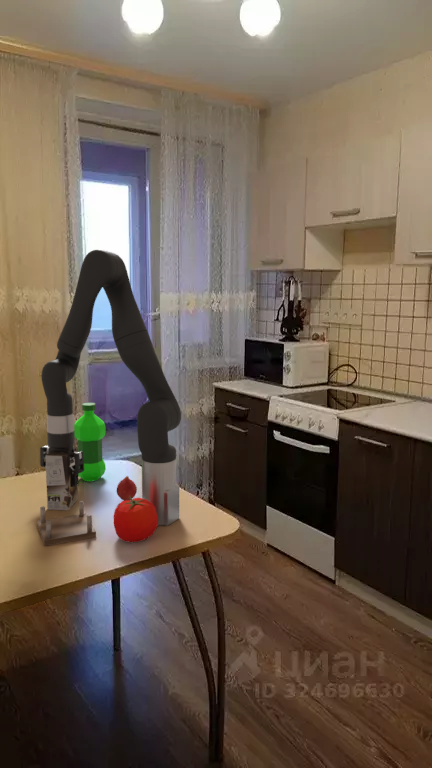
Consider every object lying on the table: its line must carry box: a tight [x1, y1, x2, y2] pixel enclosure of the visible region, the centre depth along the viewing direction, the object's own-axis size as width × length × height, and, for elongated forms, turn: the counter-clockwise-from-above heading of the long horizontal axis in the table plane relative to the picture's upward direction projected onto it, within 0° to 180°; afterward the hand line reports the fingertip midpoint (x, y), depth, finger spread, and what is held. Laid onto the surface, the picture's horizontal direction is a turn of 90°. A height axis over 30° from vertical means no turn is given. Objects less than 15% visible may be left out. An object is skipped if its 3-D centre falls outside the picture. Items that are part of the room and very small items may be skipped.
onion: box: [116, 475, 138, 501], centre depth 168 cm, size 6×6×8 cm
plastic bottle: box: [74, 402, 107, 482], centre depth 186 cm, size 10×10×25 cm
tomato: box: [113, 496, 159, 543], centre depth 144 cm, size 12×12×10 cm
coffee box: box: [45, 446, 79, 511], centre depth 165 cm, size 9×6×16 cm
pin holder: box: [37, 500, 97, 547], centre depth 148 cm, size 13×13×6 cm
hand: (62, 483), depth 166 cm, fingers closed on coffee box, 8 cm apart
